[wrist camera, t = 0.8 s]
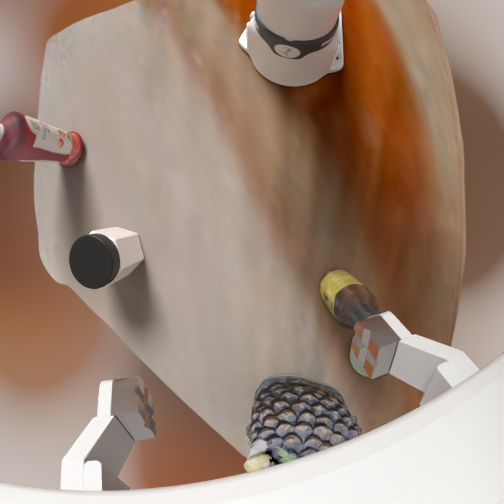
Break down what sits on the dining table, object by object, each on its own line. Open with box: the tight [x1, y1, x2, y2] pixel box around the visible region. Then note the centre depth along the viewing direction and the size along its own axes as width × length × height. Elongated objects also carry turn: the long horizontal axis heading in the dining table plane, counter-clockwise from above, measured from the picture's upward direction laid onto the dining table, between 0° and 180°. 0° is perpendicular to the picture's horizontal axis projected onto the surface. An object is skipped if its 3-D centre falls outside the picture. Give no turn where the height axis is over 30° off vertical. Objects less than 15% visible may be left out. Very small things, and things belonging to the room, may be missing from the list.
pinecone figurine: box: [244, 375, 362, 472], centre depth 45 cm, size 21×15×25 cm
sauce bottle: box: [319, 269, 382, 330], centre depth 44 cm, size 7×6×20 cm
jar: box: [69, 227, 144, 289], centre depth 48 cm, size 9×8×12 cm
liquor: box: [0, 112, 83, 167], centre depth 38 cm, size 7×7×28 cm
